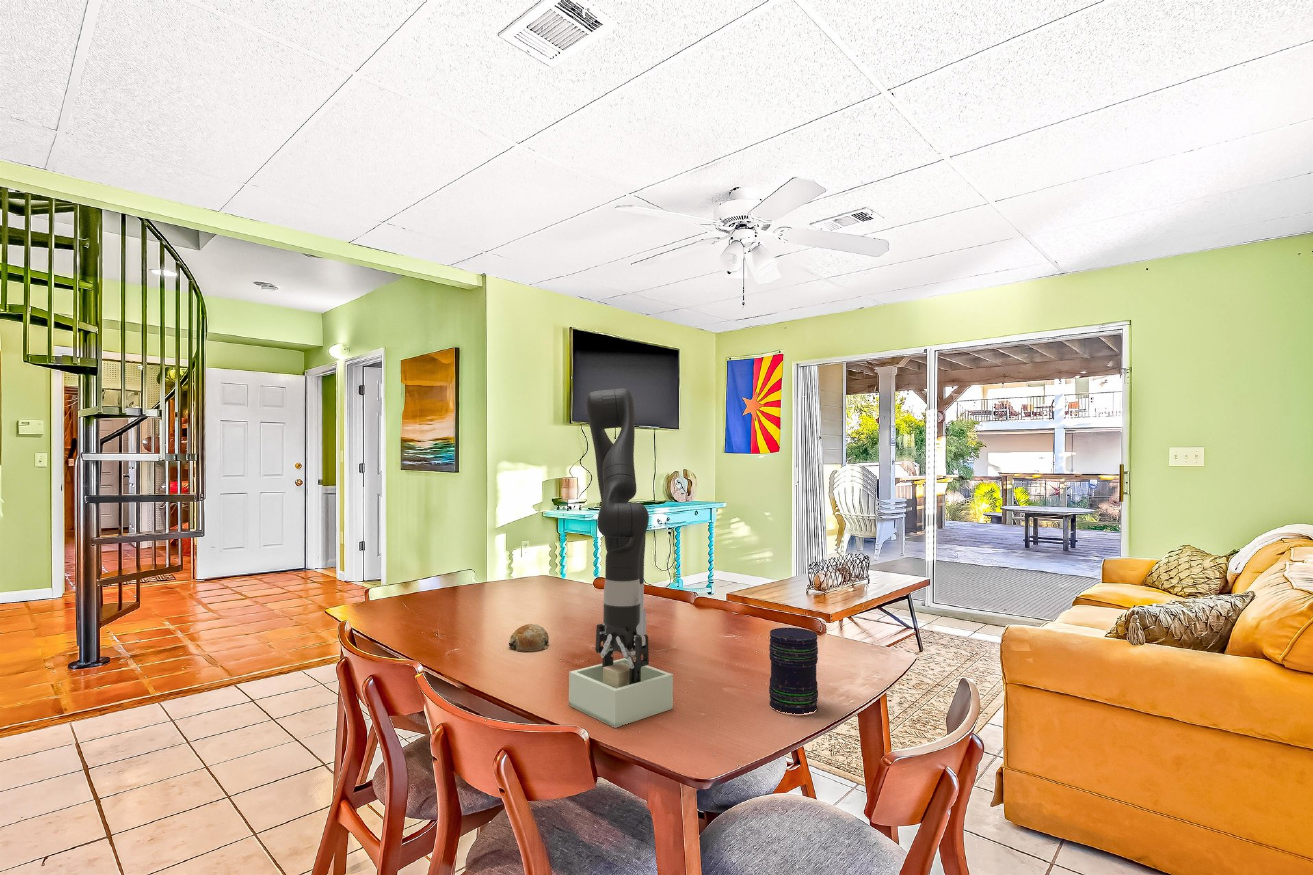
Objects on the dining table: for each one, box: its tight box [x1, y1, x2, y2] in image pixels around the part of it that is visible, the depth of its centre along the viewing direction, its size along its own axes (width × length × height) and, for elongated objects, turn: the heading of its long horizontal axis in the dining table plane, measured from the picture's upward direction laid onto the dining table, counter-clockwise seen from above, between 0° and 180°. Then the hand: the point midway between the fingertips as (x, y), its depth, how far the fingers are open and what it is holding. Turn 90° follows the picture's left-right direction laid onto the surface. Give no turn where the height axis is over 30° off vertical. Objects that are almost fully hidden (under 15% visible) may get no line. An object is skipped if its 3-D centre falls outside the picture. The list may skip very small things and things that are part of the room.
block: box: [603, 663, 630, 689], centre depth 132 cm, size 5×5×7 cm
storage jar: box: [768, 627, 819, 714], centre depth 133 cm, size 10×10×15 cm
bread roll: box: [508, 623, 550, 653], centre depth 174 cm, size 10×10×8 cm
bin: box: [568, 657, 674, 729], centre depth 132 cm, size 15×15×7 cm
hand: (620, 680), depth 132 cm, fingers open, 8 cm apart
